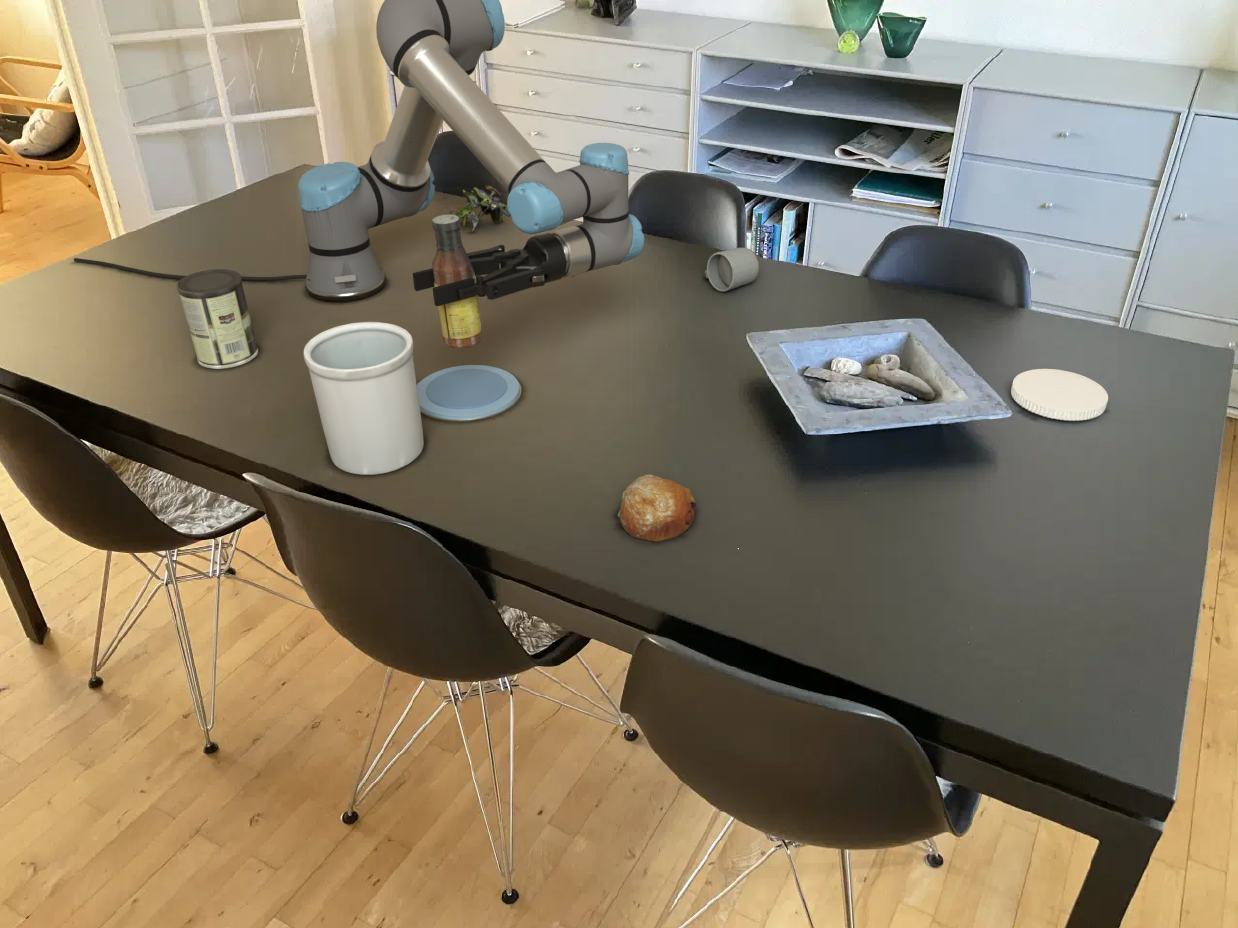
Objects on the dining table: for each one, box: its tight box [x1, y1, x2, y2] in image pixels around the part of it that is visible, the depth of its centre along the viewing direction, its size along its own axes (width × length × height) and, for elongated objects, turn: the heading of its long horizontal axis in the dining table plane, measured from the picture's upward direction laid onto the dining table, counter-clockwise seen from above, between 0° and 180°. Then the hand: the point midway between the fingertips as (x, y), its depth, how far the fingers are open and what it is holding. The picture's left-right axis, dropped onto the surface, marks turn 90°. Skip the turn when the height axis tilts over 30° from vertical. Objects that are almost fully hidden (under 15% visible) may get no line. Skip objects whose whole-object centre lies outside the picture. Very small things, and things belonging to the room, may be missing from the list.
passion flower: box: [448, 185, 512, 234], centre depth 224 cm, size 11×11×12 cm
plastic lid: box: [1010, 368, 1109, 422], centre depth 156 cm, size 14×14×2 cm
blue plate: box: [417, 364, 523, 423], centre depth 160 cm, size 18×18×1 cm
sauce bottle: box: [431, 214, 483, 349], centre depth 150 cm, size 7×6×20 cm
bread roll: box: [617, 473, 697, 542], centre depth 130 cm, size 10×10×8 cm
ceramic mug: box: [704, 247, 760, 293], centre depth 196 cm, size 11×8×8 cm
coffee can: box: [175, 268, 259, 370], centre depth 169 cm, size 10×10×14 cm
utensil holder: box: [303, 321, 425, 476], centre depth 142 cm, size 15×15×18 cm
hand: (424, 289), depth 148 cm, fingers closed on sauce bottle, 6 cm apart
